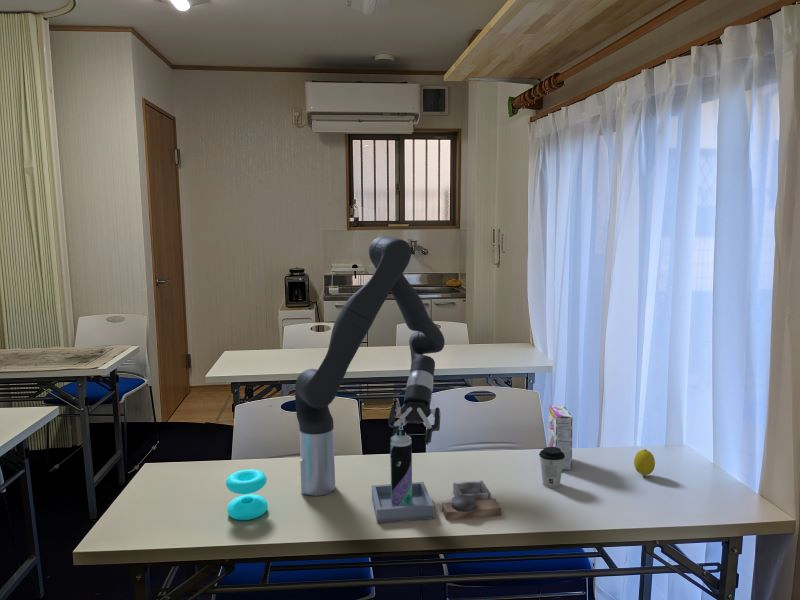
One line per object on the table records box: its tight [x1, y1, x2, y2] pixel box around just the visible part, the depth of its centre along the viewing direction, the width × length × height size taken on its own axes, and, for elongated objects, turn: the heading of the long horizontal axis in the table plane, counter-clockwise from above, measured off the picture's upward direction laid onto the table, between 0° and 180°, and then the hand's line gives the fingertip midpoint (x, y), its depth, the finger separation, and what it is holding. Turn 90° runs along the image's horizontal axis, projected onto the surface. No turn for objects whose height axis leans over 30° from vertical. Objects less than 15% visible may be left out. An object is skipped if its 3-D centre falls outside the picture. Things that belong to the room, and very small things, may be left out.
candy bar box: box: [547, 404, 573, 471], centre depth 188 cm, size 11×5×16 cm, turn 179°
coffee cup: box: [538, 446, 565, 489], centre depth 174 cm, size 7×7×10 cm
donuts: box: [225, 468, 269, 521], centre depth 160 cm, size 10×10×10 cm
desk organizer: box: [441, 480, 502, 521], centre depth 163 cm, size 14×15×4 cm
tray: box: [371, 481, 435, 524], centre depth 162 cm, size 14×14×4 cm
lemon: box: [633, 448, 656, 477], centre depth 179 cm, size 6×6×8 cm
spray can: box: [389, 428, 413, 507], centre depth 161 cm, size 6×6×20 cm
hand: (411, 442), depth 171 cm, fingers open, 8 cm apart
